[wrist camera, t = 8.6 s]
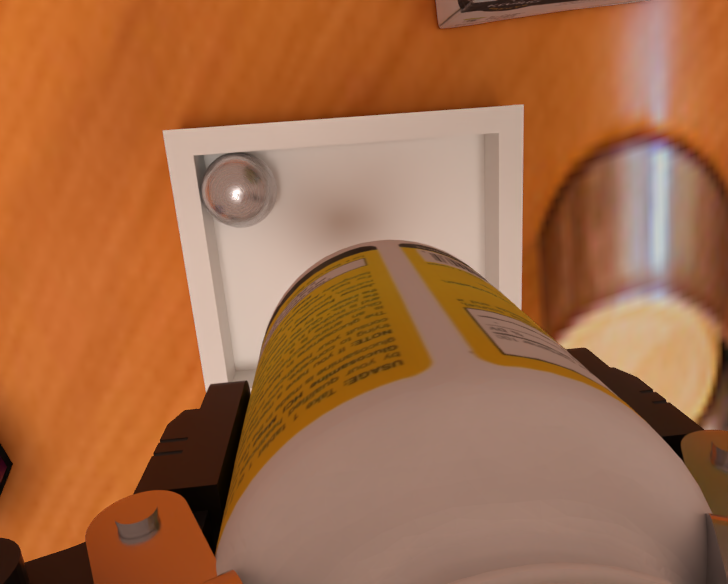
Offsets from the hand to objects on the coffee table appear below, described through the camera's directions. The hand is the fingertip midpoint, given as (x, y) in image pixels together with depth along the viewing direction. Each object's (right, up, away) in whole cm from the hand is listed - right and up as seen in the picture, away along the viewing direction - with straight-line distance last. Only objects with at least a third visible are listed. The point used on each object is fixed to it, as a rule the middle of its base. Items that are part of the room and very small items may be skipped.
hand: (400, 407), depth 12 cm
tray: (-1, +4, +15) cm, 15 cm away
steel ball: (-6, +7, +12) cm, 15 cm away
